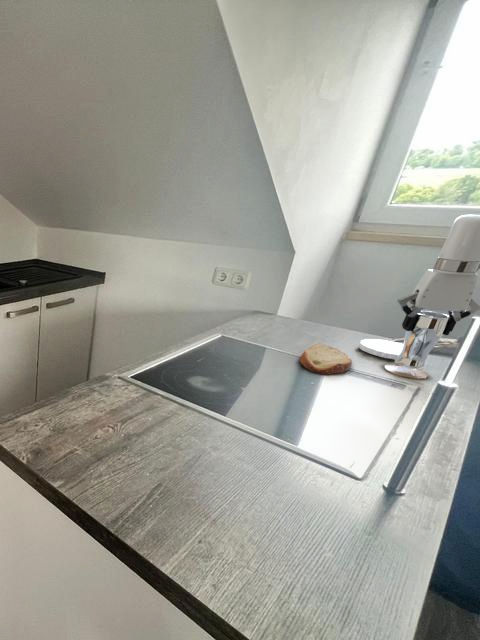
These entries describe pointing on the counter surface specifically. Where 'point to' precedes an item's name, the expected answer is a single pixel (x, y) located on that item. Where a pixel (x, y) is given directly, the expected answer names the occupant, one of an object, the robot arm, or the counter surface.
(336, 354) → the bread slice
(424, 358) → the beer glass
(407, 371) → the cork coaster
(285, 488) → the counter surface
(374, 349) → the plastic lid
